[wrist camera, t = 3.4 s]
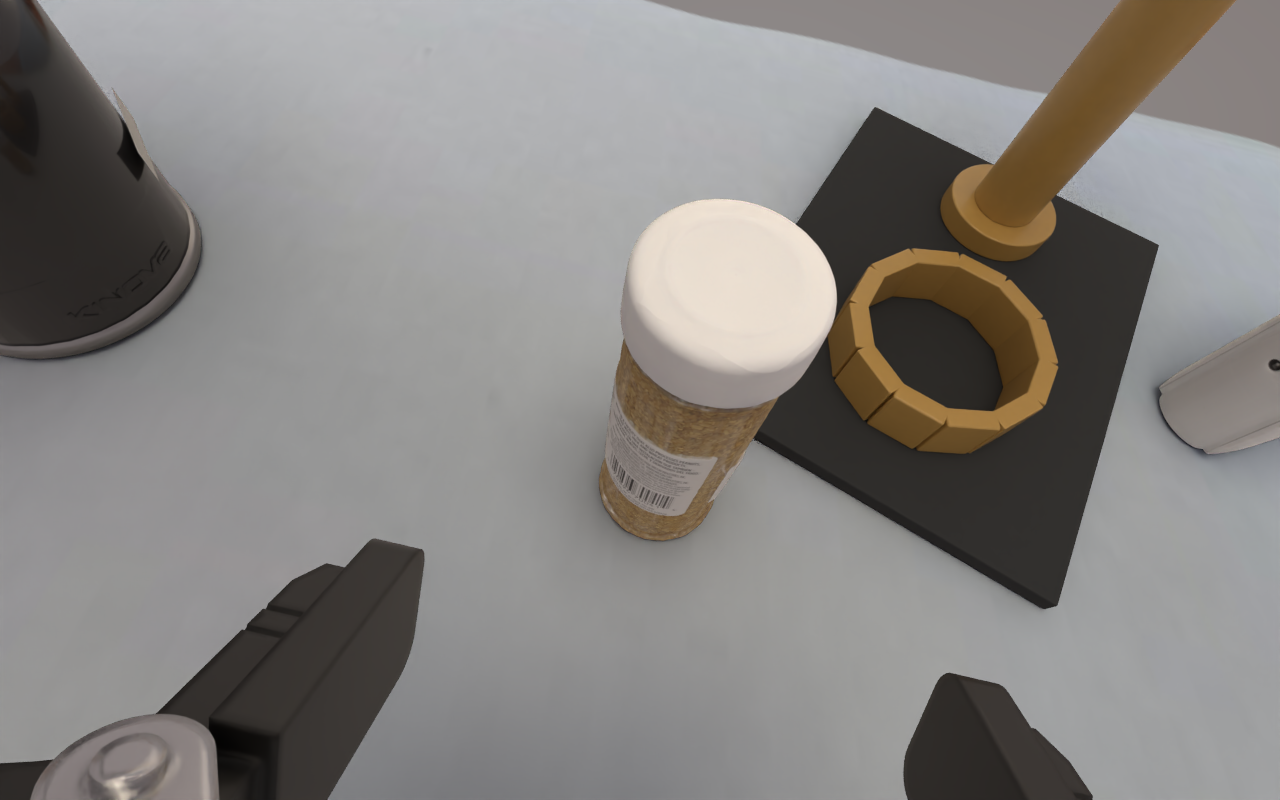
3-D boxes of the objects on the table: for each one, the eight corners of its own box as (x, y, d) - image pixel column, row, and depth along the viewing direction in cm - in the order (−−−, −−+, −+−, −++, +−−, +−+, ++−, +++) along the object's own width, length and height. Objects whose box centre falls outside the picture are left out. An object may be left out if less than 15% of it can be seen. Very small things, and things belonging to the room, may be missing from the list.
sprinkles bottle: (735, 501, 26) (888, 302, 14) (641, 568, 24) (720, 409, 12) (666, 412, 27) (750, 161, 15) (573, 469, 25) (584, 240, 14)
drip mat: (683, 396, 27) (686, 388, 27) (868, 118, 36) (874, 106, 36) (1043, 610, 25) (1058, 606, 24) (1147, 254, 34) (1159, 244, 33)
